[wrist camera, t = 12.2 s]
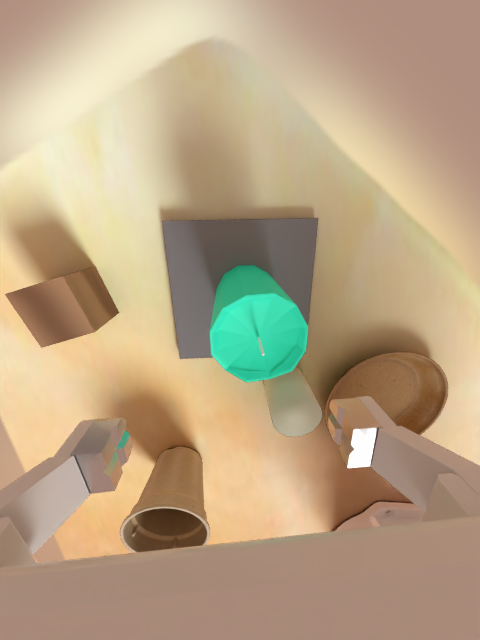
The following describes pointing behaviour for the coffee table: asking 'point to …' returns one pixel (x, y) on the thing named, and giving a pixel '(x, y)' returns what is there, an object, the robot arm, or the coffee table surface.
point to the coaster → (225, 254)
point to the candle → (255, 326)
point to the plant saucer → (397, 388)
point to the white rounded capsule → (292, 404)
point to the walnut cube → (64, 306)
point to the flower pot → (169, 506)
